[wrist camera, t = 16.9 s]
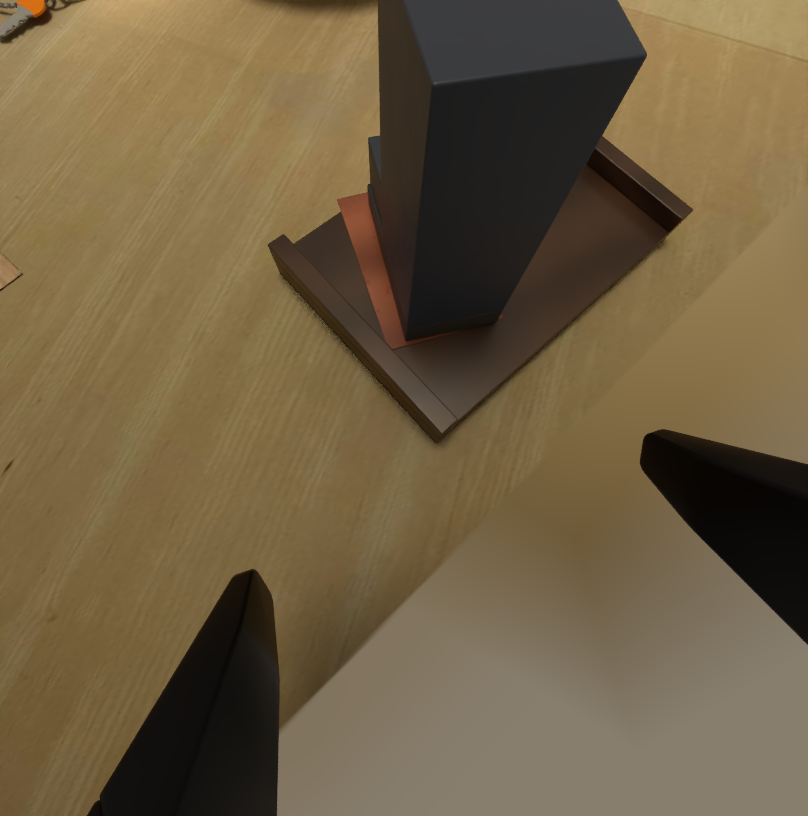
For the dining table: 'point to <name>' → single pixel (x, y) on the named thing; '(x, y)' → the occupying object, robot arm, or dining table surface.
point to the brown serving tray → (523, 314)
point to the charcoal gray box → (484, 141)
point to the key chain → (21, 13)
